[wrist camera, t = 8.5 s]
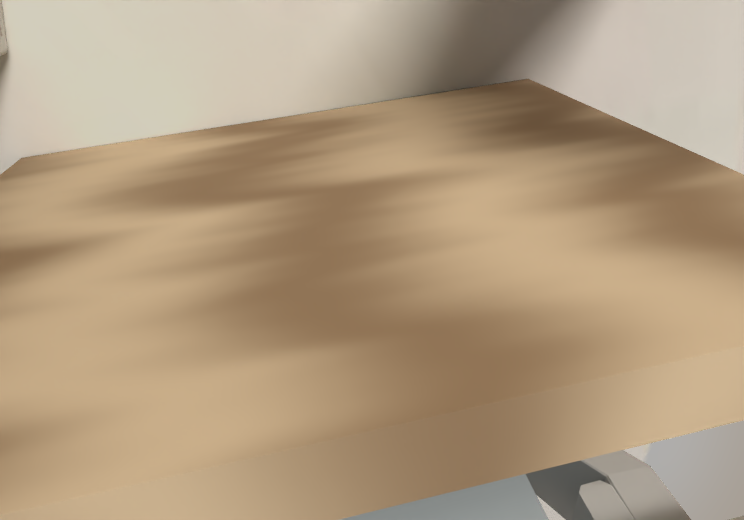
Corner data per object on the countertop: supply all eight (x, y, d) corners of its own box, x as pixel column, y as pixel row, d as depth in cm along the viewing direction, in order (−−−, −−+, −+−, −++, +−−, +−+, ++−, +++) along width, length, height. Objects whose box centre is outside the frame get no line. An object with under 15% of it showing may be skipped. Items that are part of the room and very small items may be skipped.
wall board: (131, 360, 19) (-26, 819, 9) (21, 158, 14) (-603, 652, 4) (511, 283, 20) (749, 595, 10) (528, 78, 15) (997, 287, 6)
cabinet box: (265, 441, 14) (264, 764, 9) (207, 286, 11) (143, 642, 5) (421, 405, 15) (520, 687, 9) (410, 247, 12) (556, 534, 6)
